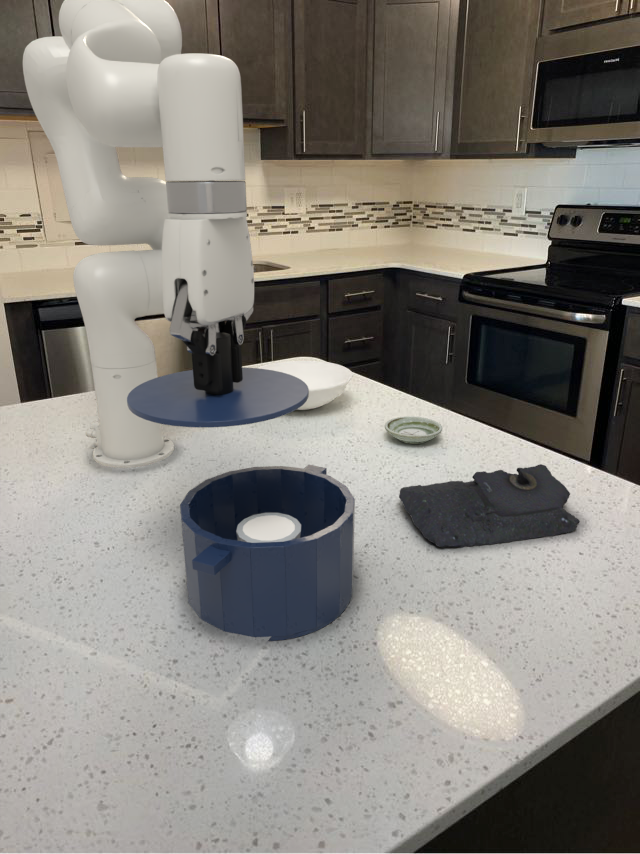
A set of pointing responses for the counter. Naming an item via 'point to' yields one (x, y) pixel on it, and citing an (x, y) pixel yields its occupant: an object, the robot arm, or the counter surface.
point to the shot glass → (268, 528)
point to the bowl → (316, 379)
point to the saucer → (413, 429)
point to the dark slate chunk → (490, 508)
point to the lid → (218, 396)
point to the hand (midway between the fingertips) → (218, 383)
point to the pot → (269, 552)
